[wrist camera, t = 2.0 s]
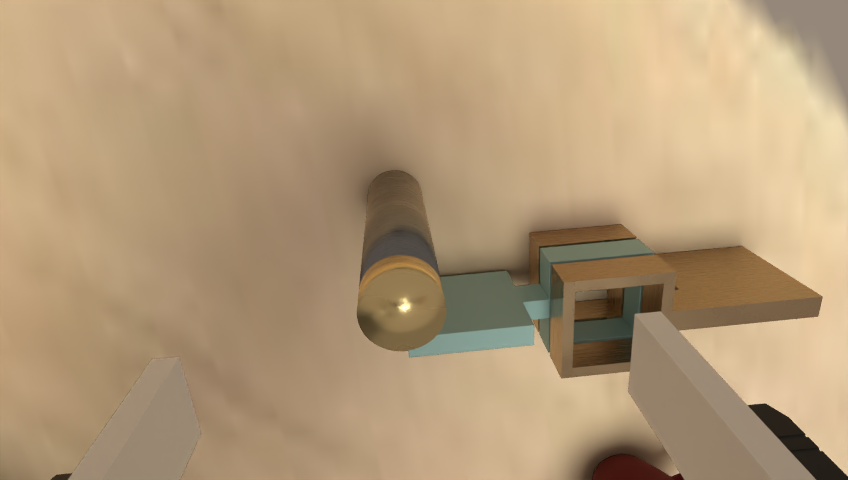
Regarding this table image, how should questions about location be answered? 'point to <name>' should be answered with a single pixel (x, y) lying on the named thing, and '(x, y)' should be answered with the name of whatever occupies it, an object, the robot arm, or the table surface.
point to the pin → (399, 268)
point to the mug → (629, 470)
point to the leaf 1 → (526, 305)
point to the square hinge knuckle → (659, 294)
